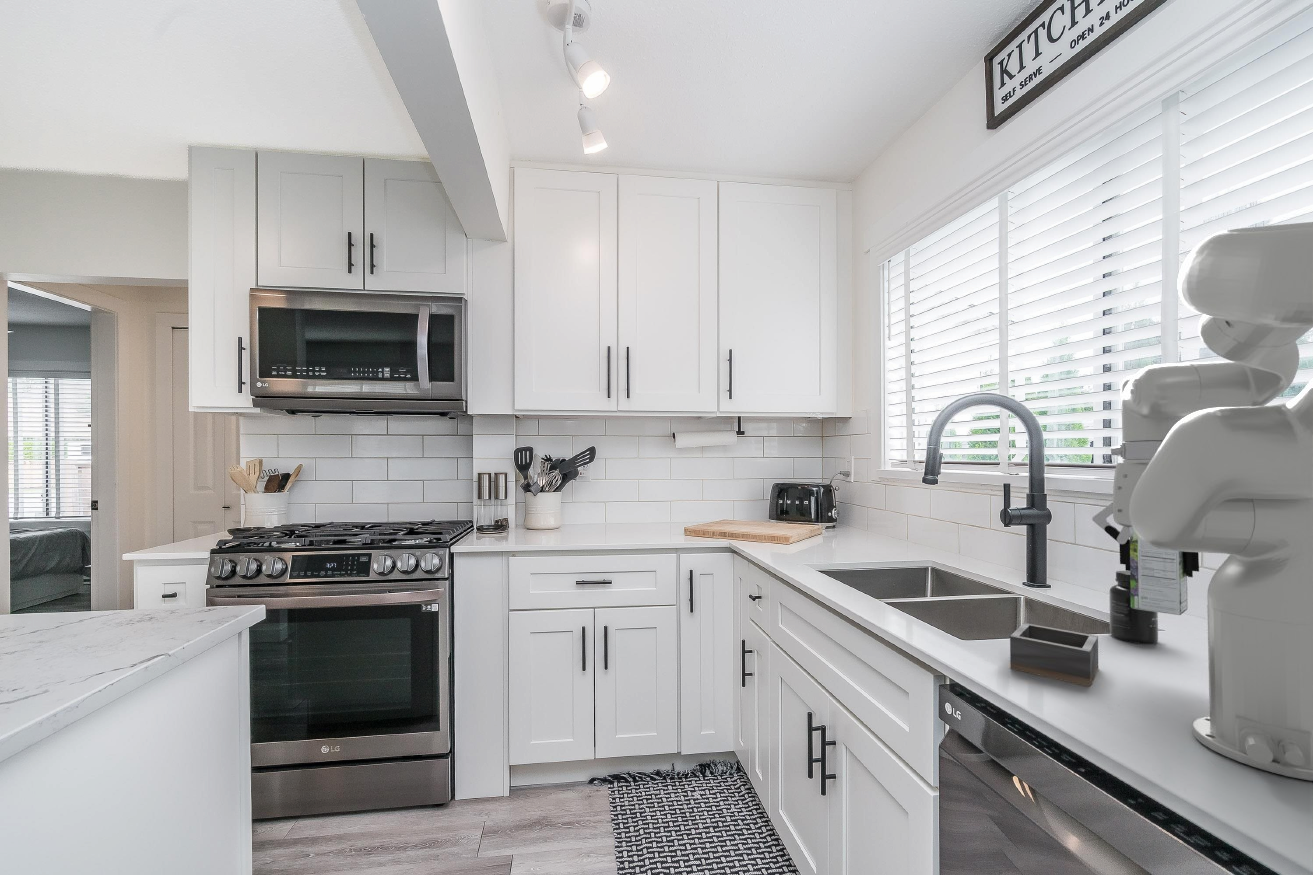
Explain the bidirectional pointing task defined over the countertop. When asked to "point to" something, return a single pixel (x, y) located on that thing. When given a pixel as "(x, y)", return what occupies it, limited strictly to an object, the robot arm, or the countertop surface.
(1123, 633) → the supplement bottle
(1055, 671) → the socket block
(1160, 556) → the syrup box
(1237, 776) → the countertop surface
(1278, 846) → the countertop surface
